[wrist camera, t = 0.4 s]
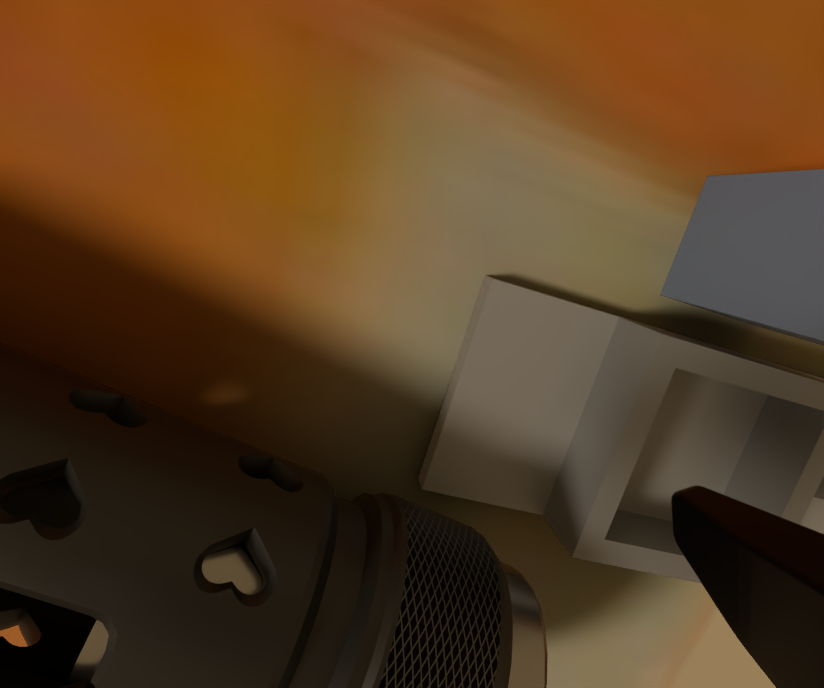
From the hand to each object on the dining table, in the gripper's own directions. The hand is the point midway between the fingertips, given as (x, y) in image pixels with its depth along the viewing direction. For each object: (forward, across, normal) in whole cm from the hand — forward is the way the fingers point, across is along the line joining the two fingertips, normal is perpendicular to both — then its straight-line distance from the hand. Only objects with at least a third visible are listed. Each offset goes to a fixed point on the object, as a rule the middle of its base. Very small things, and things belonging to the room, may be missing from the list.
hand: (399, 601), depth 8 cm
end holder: (+13, -12, +9) cm, 20 cm away
